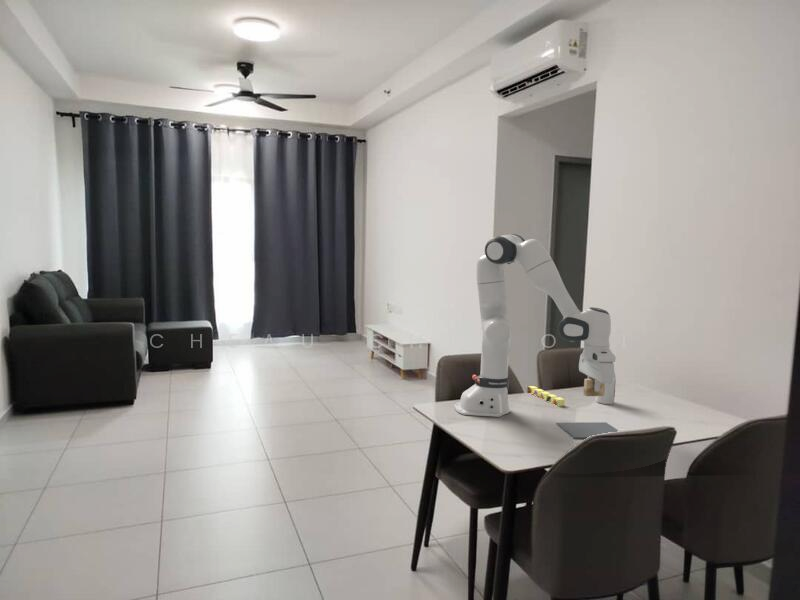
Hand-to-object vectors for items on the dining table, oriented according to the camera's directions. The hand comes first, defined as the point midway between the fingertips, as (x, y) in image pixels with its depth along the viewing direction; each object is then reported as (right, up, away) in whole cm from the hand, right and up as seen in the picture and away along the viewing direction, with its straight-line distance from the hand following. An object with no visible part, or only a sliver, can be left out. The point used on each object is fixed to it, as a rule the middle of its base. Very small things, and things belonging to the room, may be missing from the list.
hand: (593, 389), depth 201 cm
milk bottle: (+19, -13, +41) cm, 47 cm away
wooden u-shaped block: (0, -2, 0) cm, 2 cm away
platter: (-8, -12, +42) cm, 44 cm away
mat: (-1, -16, +2) cm, 16 cm away
